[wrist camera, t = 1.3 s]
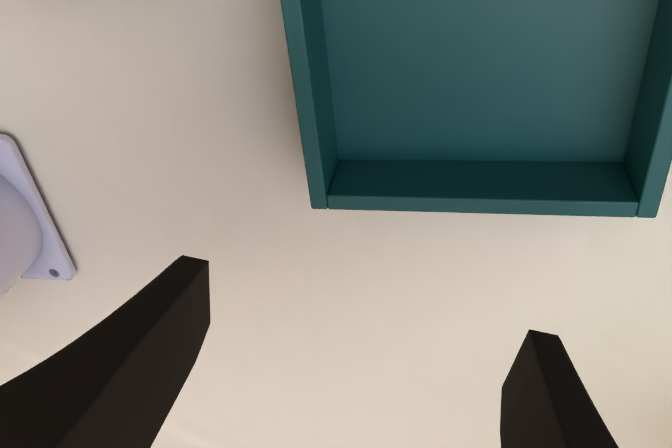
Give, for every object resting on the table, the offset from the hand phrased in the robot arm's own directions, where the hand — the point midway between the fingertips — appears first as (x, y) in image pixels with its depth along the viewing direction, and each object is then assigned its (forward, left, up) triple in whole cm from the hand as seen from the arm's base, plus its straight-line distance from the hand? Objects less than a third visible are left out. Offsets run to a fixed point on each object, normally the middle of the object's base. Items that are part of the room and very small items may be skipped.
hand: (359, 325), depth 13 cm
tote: (+3, +4, -10) cm, 11 cm away
